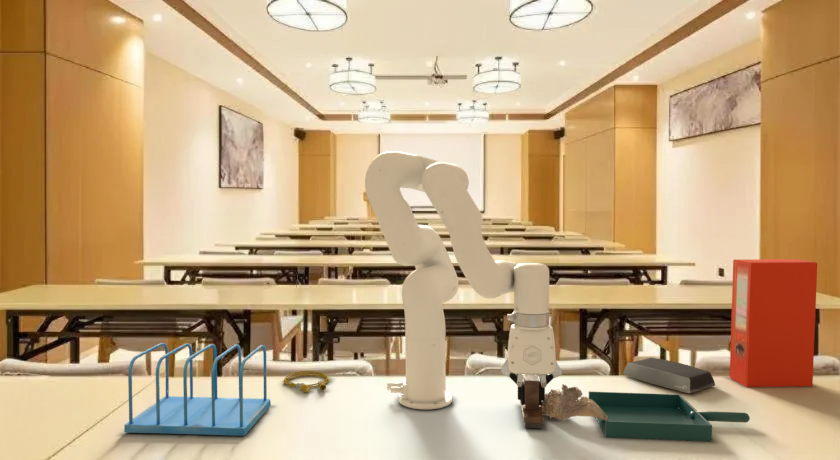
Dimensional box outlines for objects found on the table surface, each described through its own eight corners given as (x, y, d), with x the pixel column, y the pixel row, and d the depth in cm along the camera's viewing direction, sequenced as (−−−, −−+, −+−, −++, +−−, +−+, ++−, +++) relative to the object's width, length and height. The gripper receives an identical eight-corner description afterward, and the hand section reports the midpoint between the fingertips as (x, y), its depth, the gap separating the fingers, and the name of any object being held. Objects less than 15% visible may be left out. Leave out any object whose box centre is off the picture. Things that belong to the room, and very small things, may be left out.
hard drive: (687, 396, 142) (687, 379, 142) (620, 376, 158) (621, 361, 158) (717, 386, 149) (717, 371, 149) (650, 368, 166) (650, 354, 165)
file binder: (813, 386, 150) (817, 262, 148) (747, 387, 149) (751, 262, 147) (791, 377, 158) (795, 259, 156) (729, 378, 157) (732, 259, 155)
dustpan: (605, 437, 117) (605, 421, 117) (588, 405, 136) (588, 391, 136) (771, 443, 114) (771, 427, 114) (730, 410, 133) (730, 396, 133)
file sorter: (123, 434, 118) (121, 359, 118) (164, 404, 136) (163, 339, 135) (245, 436, 117) (244, 361, 117) (271, 406, 135) (270, 340, 134)
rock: (604, 428, 121) (604, 394, 121) (536, 418, 128) (536, 386, 127) (609, 419, 126) (609, 386, 126) (544, 409, 133) (543, 378, 132)
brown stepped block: (523, 428, 121) (524, 387, 121) (519, 405, 135) (519, 368, 135) (543, 428, 121) (543, 387, 120) (537, 405, 135) (537, 369, 134)
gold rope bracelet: (275, 393, 144) (275, 385, 144) (289, 374, 160) (289, 367, 160) (325, 393, 144) (325, 385, 144) (334, 374, 160) (334, 367, 160)
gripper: (493, 322, 124) (493, 408, 125) (572, 324, 122) (571, 410, 123) (493, 316, 132) (493, 396, 132) (567, 317, 130) (566, 398, 131)
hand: (531, 402), depth 128 cm, fingers closed on brown stepped block, 3 cm apart
